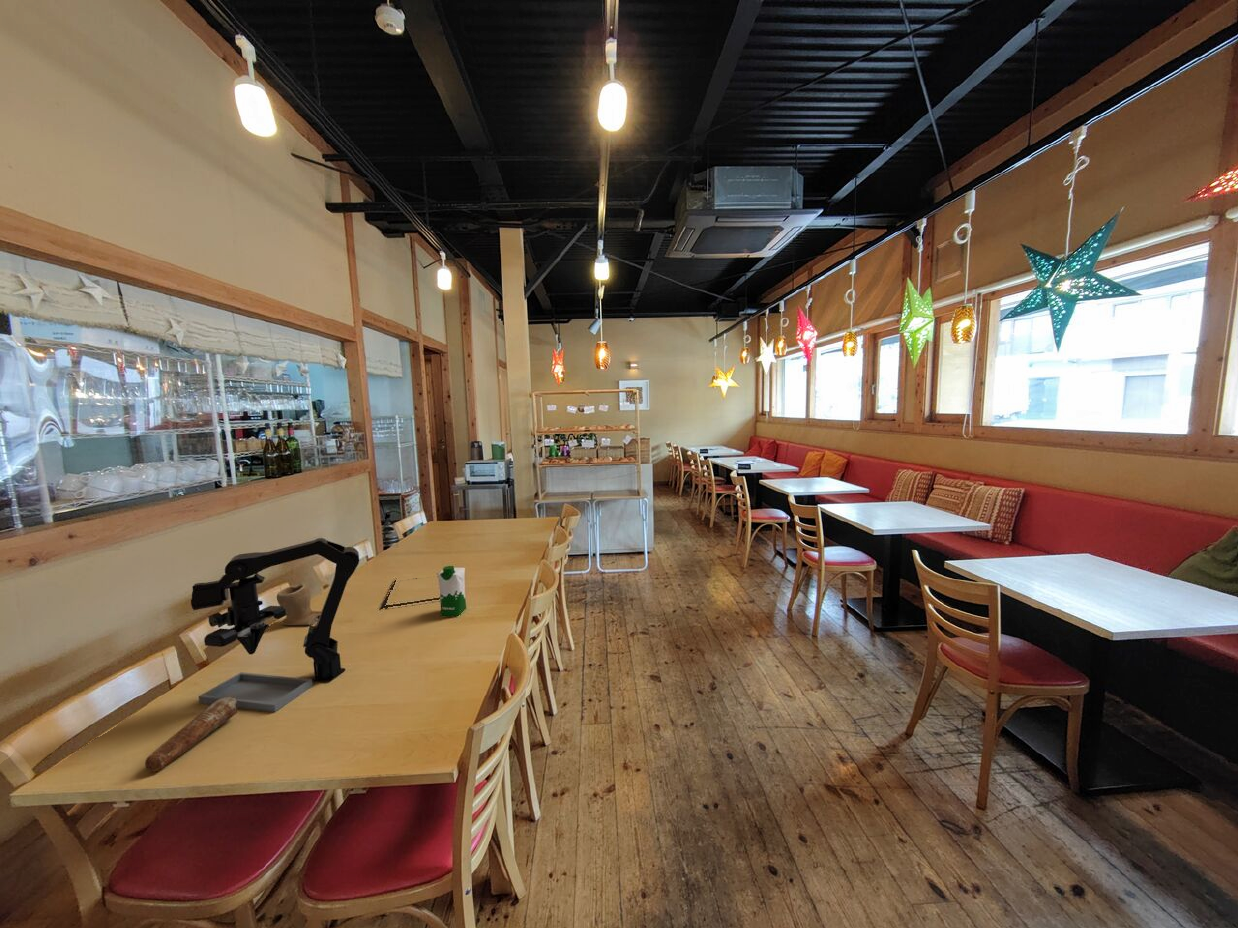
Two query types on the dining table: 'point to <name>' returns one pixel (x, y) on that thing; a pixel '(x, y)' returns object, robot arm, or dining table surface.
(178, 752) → the brown tapered rod
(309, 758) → the dining table surface
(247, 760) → the dining table surface
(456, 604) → the milk carton
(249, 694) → the serving tray
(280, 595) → the stone cup
